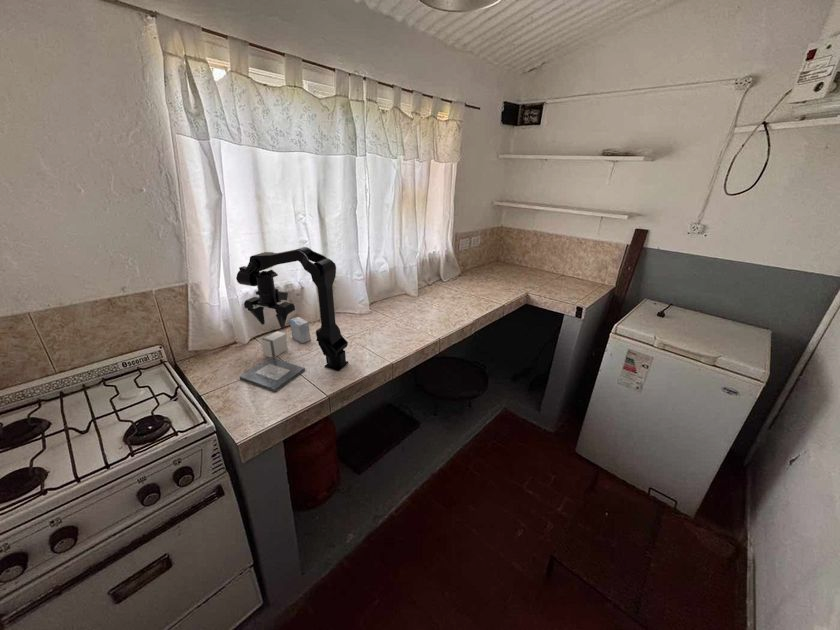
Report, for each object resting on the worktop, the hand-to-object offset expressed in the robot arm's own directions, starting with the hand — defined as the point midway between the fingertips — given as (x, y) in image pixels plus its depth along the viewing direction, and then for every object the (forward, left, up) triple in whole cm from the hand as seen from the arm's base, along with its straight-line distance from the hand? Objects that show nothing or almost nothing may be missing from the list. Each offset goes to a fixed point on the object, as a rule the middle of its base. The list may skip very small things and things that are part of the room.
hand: (273, 326), depth 125 cm
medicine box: (-1, -12, -12) cm, 17 cm away
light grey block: (0, +1, -11) cm, 11 cm away
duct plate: (-11, +13, -11) cm, 20 cm away
